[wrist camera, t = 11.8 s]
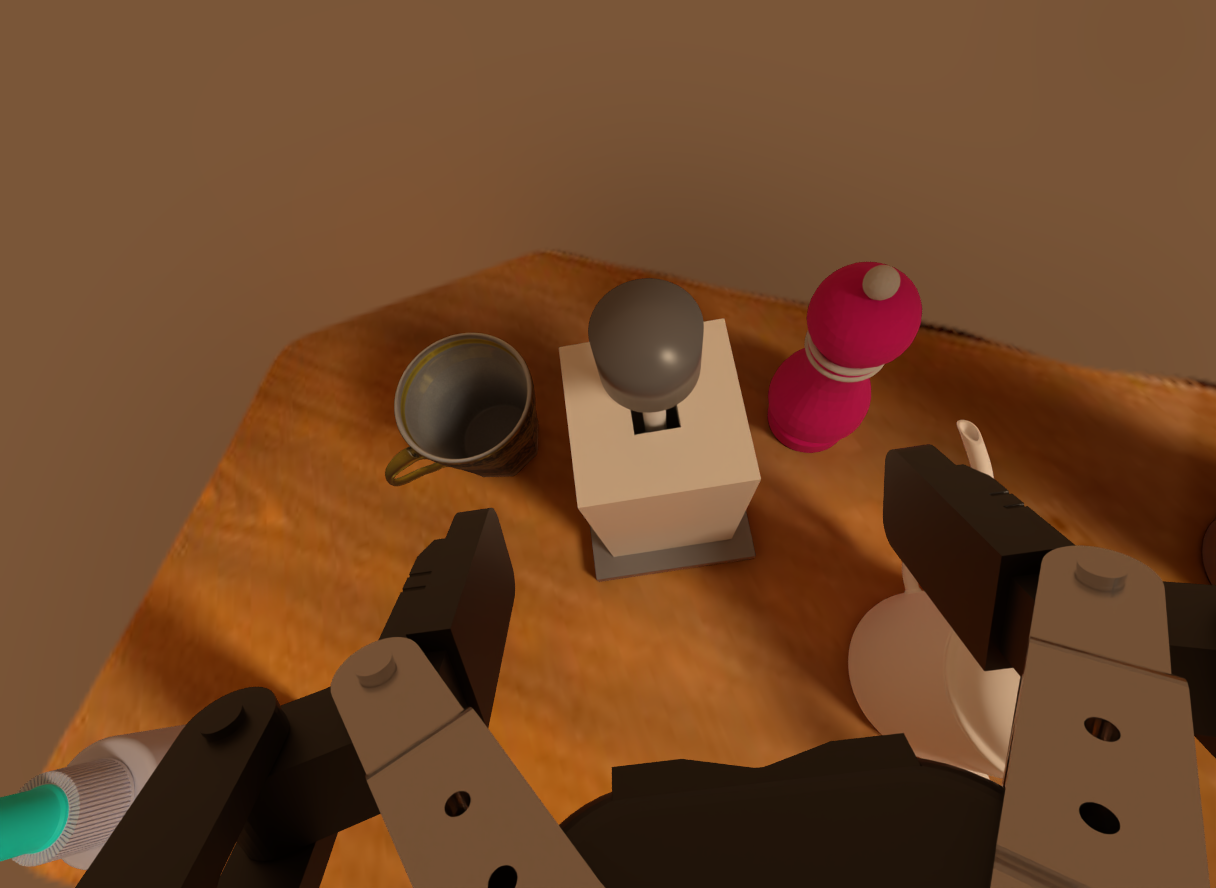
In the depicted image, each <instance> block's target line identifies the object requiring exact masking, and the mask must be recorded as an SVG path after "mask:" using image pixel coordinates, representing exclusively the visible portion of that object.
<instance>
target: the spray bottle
mask: <svg viewBox="0 0 1216 888" xmlns="http://www.w3.org/2000/svg"><path fill="white" fill-rule="evenodd" d="M185 726H186V725H181V726H174V727H168V728H162V729H155V730H149V731H143V732H137V733H130V734H124V735H118V736H112V737H108V738H105V739H102V740H99V741H97V742H95V743H93V744H91V745H90V746H88V747H87V748H85V749H84V750H83V751H81V752H80V753H79V754H78V755H77V756H76V757H75V758H74V759H73V760H72V761H71V762H70V763H69V765H68V766H67V767H65V768H61V769H57V770H53V771H49V772H45V773H43V774H39V775H37V776H35V777H34V778H32V779H31V780H29V781H28V782H27V783H26V784H24V786H23V787H21V788H20V789H21V790H19V791H18V792H17V794H13V795H9V796H4V797H0V861H3V860H7V859H10V858H13V859H12V860H13V861H15V860H16V861H15V862H16V863H18V862H19V863H18V864H19V865H20V864H22V866H24V865H25V866H37V865H41V864H44V863H48V862H51V861H54V860H58V859H62V860H63V861H64V862H65V863H67V864H69V865H70V866H72V867H75V868H78V869H82V870H87V869H88V868H89V866H90V865H91V863H92V862H93V861H94V859H95V858H96V856H97V855H98V853H99V852H100V850H101V849H102V847H103V846H104V844H105V843H106V841H107V840H108V838H109V837H110V835H111V834H112V832H113V831H114V829H115V828H116V827H117V825H118V824H119V822H120V821H121V819H122V818H123V816H124V815H125V813H126V812H127V810H128V809H129V807H130V806H131V804H132V803H133V801H134V800H135V798H136V797H137V796H138V794H139V793H140V791H141V790H142V788H143V787H144V785H145V784H146V782H147V781H148V779H149V778H150V776H151V775H152V773H153V772H154V770H155V769H156V767H157V766H158V764H159V763H160V762H161V760H162V759H163V757H164V756H165V754H166V753H167V751H168V750H169V748H170V747H171V745H172V744H173V742H174V741H175V739H176V738H177V736H178V735H179V733H180V732H181V731H182V729H183V728H184V727H185Z"/></svg>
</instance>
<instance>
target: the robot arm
mask: <svg viewBox="0 0 1216 888" xmlns="http://www.w3.org/2000/svg"><path fill="white" fill-rule="evenodd" d="M883 524H884V529H885V533H886V536H887V539H888V541H889V543H890V545H891V547H892V548H893V550H894V551H895V552H896V554H897V555H898V556H899V558H900V559H901V560H902V562H903V563H904V564H905V566H906V567H907V568H908V570H909V571H910V572H911V574H912V575H913V577H914V578H915V579H916V581H917V582H918V583H919V585H920V586H921V587H922V589H923V590H924V591H925V593H926V594H927V595H928V597H929V598H930V599H931V601H932V602H933V603H934V605H935V606H936V607H937V609H938V610H939V611H940V613H941V614H942V615H943V617H944V618H945V619H946V621H947V622H948V623H949V625H950V626H951V627H952V629H953V630H954V632H955V633H956V634H957V636H958V637H959V638H960V640H961V641H962V642H963V644H964V645H965V646H966V648H967V649H968V650H969V652H970V653H971V654H972V656H973V657H974V658H975V660H976V661H977V662H978V664H979V665H980V666H981V668H982V669H983V670H984V671H992V670H1001V669H1009V668H1014V669H1015V671H1016V672H1017V673H1018V674H1019V676H1020V681H1019V686H1018V692H1017V697H1016V703H1015V709H1014V715H1013V721H1012V727H1011V733H1010V739H1009V745H1008V751H1007V757H1006V763H1005V769H1004V775H1003V780H1002V786H1000V785H999V784H997V783H995V782H993V781H991V780H989V779H987V778H984V777H982V776H980V775H977V774H975V773H973V772H970V771H968V770H965V769H962V768H959V767H956V766H953V765H950V764H946V763H942V762H938V761H933V760H929V759H923V758H917V757H916V755H915V754H914V752H913V750H912V748H911V746H910V744H909V742H908V740H907V738H906V736H905V735H904V733H898V734H890V735H881V736H873V737H864V738H856V739H847V740H839V741H830V742H828V743H825V744H823V745H820V746H817V747H815V748H812V749H810V750H807V751H804V752H802V753H799V754H797V755H794V756H792V757H789V758H786V759H784V760H781V761H779V762H776V763H774V764H771V765H768V766H765V767H760V768H751V767H743V766H735V765H726V764H718V763H710V762H702V761H694V760H686V759H677V760H669V761H660V762H652V763H643V764H635V765H626V766H618V767H612V792H610V793H608V794H605V795H603V796H600V797H599V798H597V799H595V800H593V801H591V802H589V803H587V804H585V805H584V806H583V807H581V808H580V809H578V810H577V811H575V812H574V813H573V814H571V815H570V816H569V817H568V818H566V819H565V820H564V821H563V822H562V823H561V824H560V825H558V824H557V822H556V821H555V820H554V818H553V817H552V816H551V814H550V813H549V811H548V810H547V809H546V807H545V806H544V805H543V803H542V802H541V800H540V799H539V798H538V796H537V795H536V794H535V792H534V791H533V790H532V788H531V787H530V785H529V784H528V783H527V781H526V780H525V779H524V777H523V776H522V775H521V773H520V772H519V770H518V769H517V768H516V766H515V765H514V764H513V762H512V761H511V759H510V758H509V757H508V755H507V754H506V753H505V751H504V750H503V749H502V747H501V746H500V744H499V743H498V742H497V740H496V739H495V738H494V736H493V735H492V733H491V732H490V731H489V729H488V727H489V722H490V717H491V712H492V707H493V702H494V697H495V692H496V687H497V682H498V677H499V672H500V667H501V662H502V657H503V652H504V647H505V642H506V637H507V632H508V627H509V622H510V617H511V612H512V607H513V603H514V597H515V580H514V572H513V568H512V564H511V561H510V557H509V554H508V550H507V547H506V543H505V540H504V537H503V533H502V530H501V526H500V523H499V519H498V516H497V514H496V512H495V510H494V509H493V508H487V509H480V510H473V511H467V512H460V513H457V514H456V515H455V517H454V519H453V521H452V524H451V526H450V529H449V531H448V533H447V536H446V538H444V539H438V540H434V541H433V542H432V543H431V544H430V545H429V546H428V547H427V548H426V549H425V550H424V551H423V552H422V553H421V554H420V555H419V556H418V557H417V559H416V561H415V563H414V565H413V567H412V569H411V572H410V574H409V575H410V577H409V578H407V580H406V582H405V584H404V587H403V592H401V593H400V595H399V597H398V600H397V602H396V604H395V606H394V608H393V610H392V612H391V615H390V617H389V619H388V621H387V623H386V625H385V627H384V630H383V632H382V634H381V636H380V638H379V640H378V641H376V642H373V643H371V644H369V645H367V646H365V647H363V648H361V649H360V650H358V651H356V652H355V653H354V654H353V655H351V656H350V657H349V658H348V659H347V660H346V661H345V662H344V663H343V664H342V665H341V666H340V667H339V669H338V670H337V672H336V673H335V675H334V677H333V679H332V683H331V687H328V688H326V689H324V690H321V691H318V692H316V693H313V694H311V695H308V696H305V697H303V698H300V699H297V700H295V701H292V702H289V703H287V704H284V705H281V706H280V704H279V702H278V700H277V699H276V697H275V695H274V694H273V692H272V691H270V690H269V689H267V688H263V687H249V688H244V689H240V690H237V691H234V692H232V693H229V694H227V695H225V696H223V697H221V698H219V699H217V700H216V701H214V702H213V703H211V704H209V705H208V706H207V707H205V708H204V709H203V710H201V711H200V712H199V713H198V714H197V715H195V716H194V717H193V718H192V719H191V720H190V721H189V722H188V723H187V724H186V726H185V727H184V728H183V729H182V731H181V732H180V733H179V735H178V736H177V738H176V739H175V741H174V742H173V744H172V745H171V747H170V748H169V750H168V751H167V753H166V754H165V756H164V757H163V759H162V760H161V762H160V763H159V764H158V766H157V767H156V769H155V770H154V772H153V773H152V775H151V776H150V778H149V779H148V781H147V782H146V784H145V785H144V787H143V788H142V790H141V791H140V793H139V794H138V796H137V797H136V798H135V800H134V801H133V803H132V804H131V806H130V807H129V809H128V810H127V812H126V813H125V815H124V816H123V818H122V819H121V821H120V822H119V824H118V825H117V827H116V828H115V829H114V831H113V832H112V834H111V835H110V837H109V838H108V840H107V841H106V843H105V844H104V846H103V847H102V849H101V850H100V852H99V853H98V855H97V856H96V858H95V859H94V861H93V862H92V863H91V865H90V866H89V868H88V869H87V871H86V872H85V874H84V875H83V877H82V878H81V880H80V881H79V883H78V884H77V886H76V887H75V888H319V887H320V884H321V881H322V878H323V875H324V872H325V869H326V866H327V863H328V860H329V857H330V854H331V851H332V848H333V845H334V842H335V839H336V837H337V834H338V832H339V831H342V830H344V829H346V828H349V827H351V826H353V825H356V824H358V823H360V822H362V821H365V820H367V819H369V818H372V817H374V816H376V815H378V814H381V815H382V817H383V820H384V822H385V824H386V827H387V829H388V831H389V833H390V836H391V838H392V840H393V843H394V845H395V847H396V850H397V852H398V854H399V856H400V859H401V861H402V863H403V866H404V868H405V870H406V873H407V875H408V877H409V880H410V882H411V884H412V886H413V888H1210V883H1209V874H1208V864H1207V855H1206V845H1205V836H1204V826H1203V817H1202V807H1201V798H1200V788H1199V779H1198V769H1197V760H1196V750H1195V741H1194V736H1195V737H1196V738H1197V739H1198V740H1199V741H1200V742H1201V743H1202V745H1203V746H1204V747H1205V748H1206V749H1207V750H1208V751H1209V752H1210V753H1211V754H1212V755H1213V756H1214V757H1215V758H1216V519H1215V520H1214V521H1213V522H1212V524H1211V525H1210V526H1209V527H1208V529H1207V532H1206V534H1205V536H1204V539H1203V547H1202V556H1203V564H1204V567H1205V570H1206V573H1207V576H1208V579H1209V581H1210V582H1211V584H1212V585H1204V584H1190V583H1176V582H1164V581H1162V580H1161V578H1160V577H1159V576H1158V575H1157V574H1156V573H1155V572H1154V571H1153V570H1152V569H1151V568H1149V567H1148V566H1146V565H1145V564H1143V563H1142V562H1140V561H1138V560H1136V559H1134V558H1132V557H1129V556H1127V555H1124V554H1122V553H1119V552H1115V551H1112V550H1108V549H1104V548H1098V547H1092V546H1076V545H1074V544H1073V543H1072V542H1071V541H1070V540H1068V539H1067V538H1066V537H1065V536H1063V535H1062V534H1061V533H1060V532H1059V531H1057V530H1056V529H1055V528H1054V527H1052V526H1051V525H1050V524H1049V523H1047V522H1046V521H1045V520H1044V519H1043V518H1041V517H1040V516H1039V515H1038V514H1036V513H1035V512H1034V511H1033V510H1032V509H1030V508H1029V507H1028V506H1026V507H1025V506H1024V503H1023V502H1022V501H1021V500H1019V499H1018V498H1017V497H1016V496H1014V495H1013V494H1009V492H1008V490H1007V489H1006V488H1005V487H1003V486H1002V485H1001V484H1000V483H998V482H997V481H996V480H995V479H994V478H992V477H991V476H990V475H987V474H985V473H983V472H980V471H978V470H976V469H973V468H971V467H968V466H966V465H964V464H962V465H955V464H954V463H953V462H952V461H950V460H949V459H948V458H947V457H946V456H945V455H943V454H942V453H941V452H940V451H939V450H938V449H937V448H935V447H934V446H933V445H930V444H927V445H920V446H914V447H907V448H900V449H893V450H890V451H889V452H888V453H887V455H886V459H885V477H884V501H883ZM236 842H237V843H236ZM235 843H236V845H235ZM234 846H235V847H234ZM233 848H234V849H233ZM232 850H233V851H232ZM231 852H232V853H231ZM230 854H231V855H230ZM229 856H230V857H229ZM228 858H229V859H228ZM227 860H228V861H227ZM226 862H227V863H226ZM225 864H226V865H225ZM224 866H225V867H224ZM223 868H224V870H223ZM222 870H223V872H222ZM221 873H222V874H221ZM220 875H221V876H220Z"/></svg>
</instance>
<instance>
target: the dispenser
mask: <svg viewBox="0 0 1216 888" xmlns="http://www.w3.org/2000/svg"><path fill="white" fill-rule="evenodd" d="M703 323H704V333H703V346H702V359H701V370H700V375H699V379H698V381H697V384H696V386H695V387H694V389H693V390H692V392H691V393H690V394H689V395H688V397H686V398H685V399H684V400H683V401H682V402H680V403H679V404H677V405H676V406H674V407H672V408H669V409H667V410H666V423H667V430H661V431H655V432H649V433H646V431H645V425H644V419H643V412H637V411H633V410H630V409H627V408H625V407H623V406H621V405H619V404H618V403H617V402H615V401H614V400H613V399H612V398H611V397H610V396H609V395H608V393H607V392H606V391H605V389H604V387H603V385H602V383H601V380H600V376H599V373H598V370H597V366H596V363H595V359H594V356H593V353H592V349H591V346H590V342H586V343H581V344H575V345H569V346H564V347H559V354H560V362H561V371H562V379H563V387H564V396H565V404H566V413H567V421H568V429H569V438H570V446H571V455H572V463H573V471H574V480H575V488H576V497H577V505H578V509H579V510H580V512H581V513H582V514H583V516H584V517H585V519H586V520H587V521H588V523H589V524H590V530H591V538H592V546H593V554H594V562H595V570H596V578H597V580H598V581H599V582H601V581H608V580H615V579H621V578H628V577H635V576H641V575H648V574H655V573H661V572H668V571H675V570H681V569H688V568H695V567H701V566H708V565H715V564H721V563H728V562H735V561H741V560H748V559H754V557H755V556H756V554H755V550H754V545H753V541H752V536H751V531H750V527H749V522H748V517H747V513H746V509H747V507H748V505H749V503H750V501H751V499H752V497H753V495H754V493H755V490H756V488H757V486H758V484H759V482H760V480H761V477H760V472H759V468H758V464H757V459H756V455H755V451H754V446H753V442H752V438H751V433H750V429H749V424H748V420H747V416H746V411H745V407H744V403H743V398H742V394H741V390H740V385H739V381H738V376H737V372H736V368H735V363H734V359H733V355H732V350H731V346H730V342H729V337H728V333H727V328H726V324H725V320H724V318H723V319H717V320H712V321H706V322H703Z"/></svg>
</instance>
